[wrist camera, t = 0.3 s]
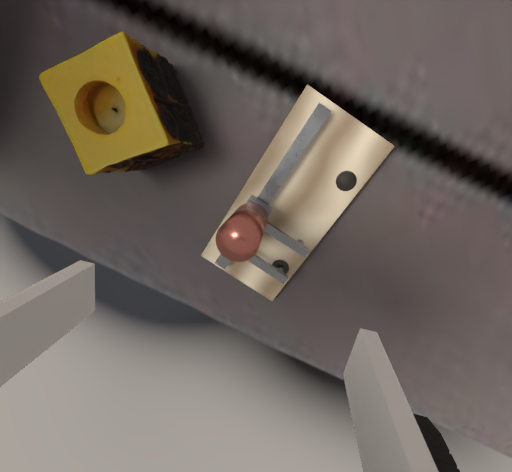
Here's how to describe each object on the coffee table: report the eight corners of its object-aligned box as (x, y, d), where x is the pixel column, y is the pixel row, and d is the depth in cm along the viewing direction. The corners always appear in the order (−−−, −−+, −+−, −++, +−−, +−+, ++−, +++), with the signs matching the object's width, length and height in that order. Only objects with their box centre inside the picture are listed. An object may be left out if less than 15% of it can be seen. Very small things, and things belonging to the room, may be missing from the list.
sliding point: (232, 218, 36) (206, 247, 25) (250, 190, 34) (231, 209, 24) (296, 259, 36) (296, 306, 26) (316, 234, 35) (325, 271, 24)
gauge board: (203, 252, 40) (200, 255, 38) (306, 86, 31) (307, 84, 30) (272, 297, 40) (271, 301, 39) (391, 146, 32) (394, 146, 31)
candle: (205, 146, 35) (173, 146, 26) (139, 172, 37) (86, 180, 28) (174, 61, 33) (125, 26, 23) (104, 94, 35) (34, 74, 25)
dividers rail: (217, 258, 38) (211, 266, 36) (318, 104, 31) (320, 100, 28) (270, 292, 39) (268, 303, 36) (381, 148, 31) (389, 148, 29)
